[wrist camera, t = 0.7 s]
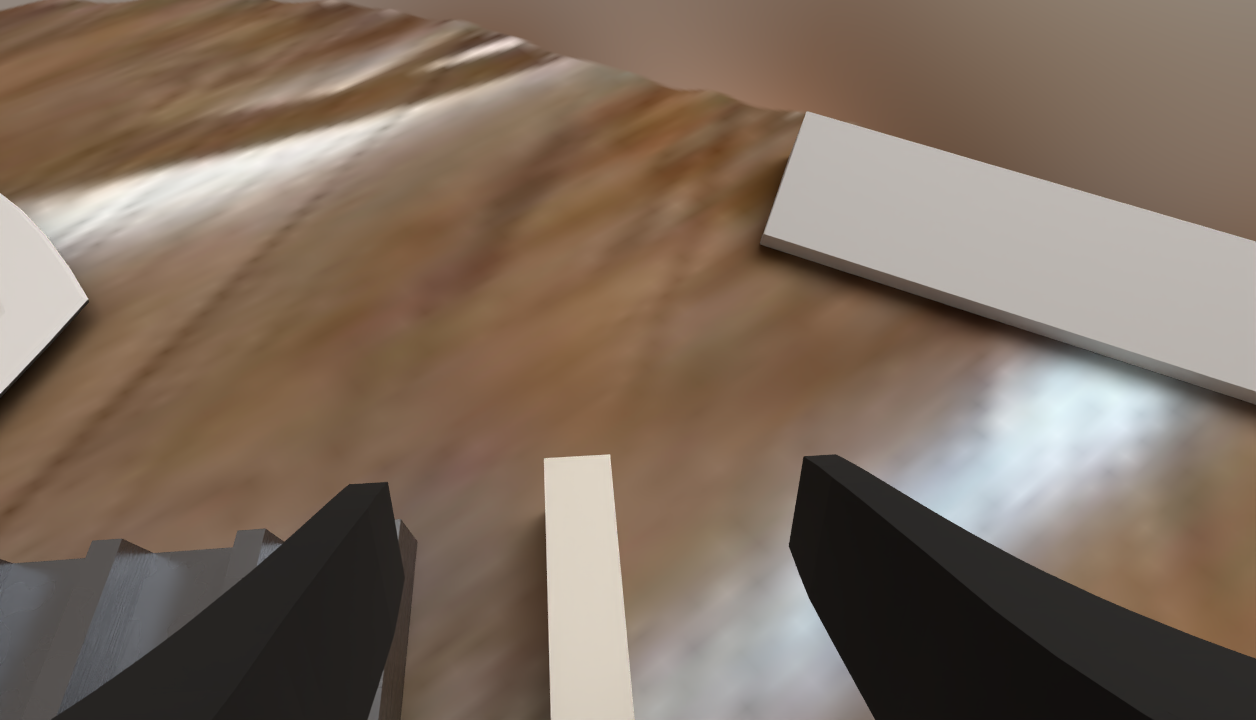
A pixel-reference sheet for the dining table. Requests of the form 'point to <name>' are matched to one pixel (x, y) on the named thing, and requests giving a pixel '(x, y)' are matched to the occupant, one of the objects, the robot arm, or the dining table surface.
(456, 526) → the dining table surface
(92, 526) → the dining table surface
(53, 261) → the plate
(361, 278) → the dining table surface
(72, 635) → the grey grooved block
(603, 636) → the clay strip
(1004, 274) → the decorative molding
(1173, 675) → the robot arm
